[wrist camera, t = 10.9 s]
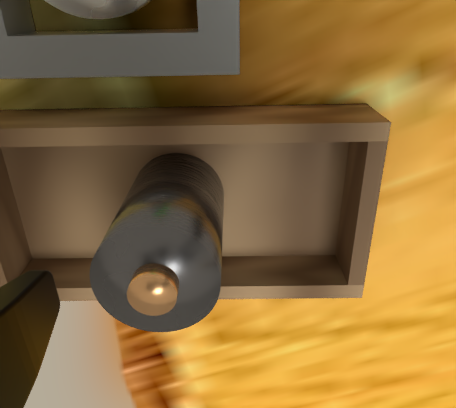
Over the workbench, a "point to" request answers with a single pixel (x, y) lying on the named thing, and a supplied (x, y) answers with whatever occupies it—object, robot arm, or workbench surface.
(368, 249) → the trough
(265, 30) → the workbench surface
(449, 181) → the workbench surface
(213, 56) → the checker frame
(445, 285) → the workbench surface
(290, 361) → the workbench surface
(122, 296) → the cell
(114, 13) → the silver metal disc
